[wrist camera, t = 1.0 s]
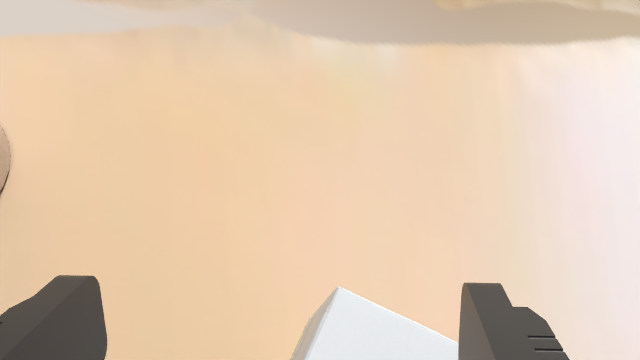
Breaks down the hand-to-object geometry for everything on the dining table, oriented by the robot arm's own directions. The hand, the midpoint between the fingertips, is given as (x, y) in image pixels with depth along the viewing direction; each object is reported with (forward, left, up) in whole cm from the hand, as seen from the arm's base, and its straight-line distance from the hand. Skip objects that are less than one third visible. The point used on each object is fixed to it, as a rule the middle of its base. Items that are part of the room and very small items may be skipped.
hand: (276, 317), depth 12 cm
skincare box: (+5, +2, -23) cm, 24 cm away
